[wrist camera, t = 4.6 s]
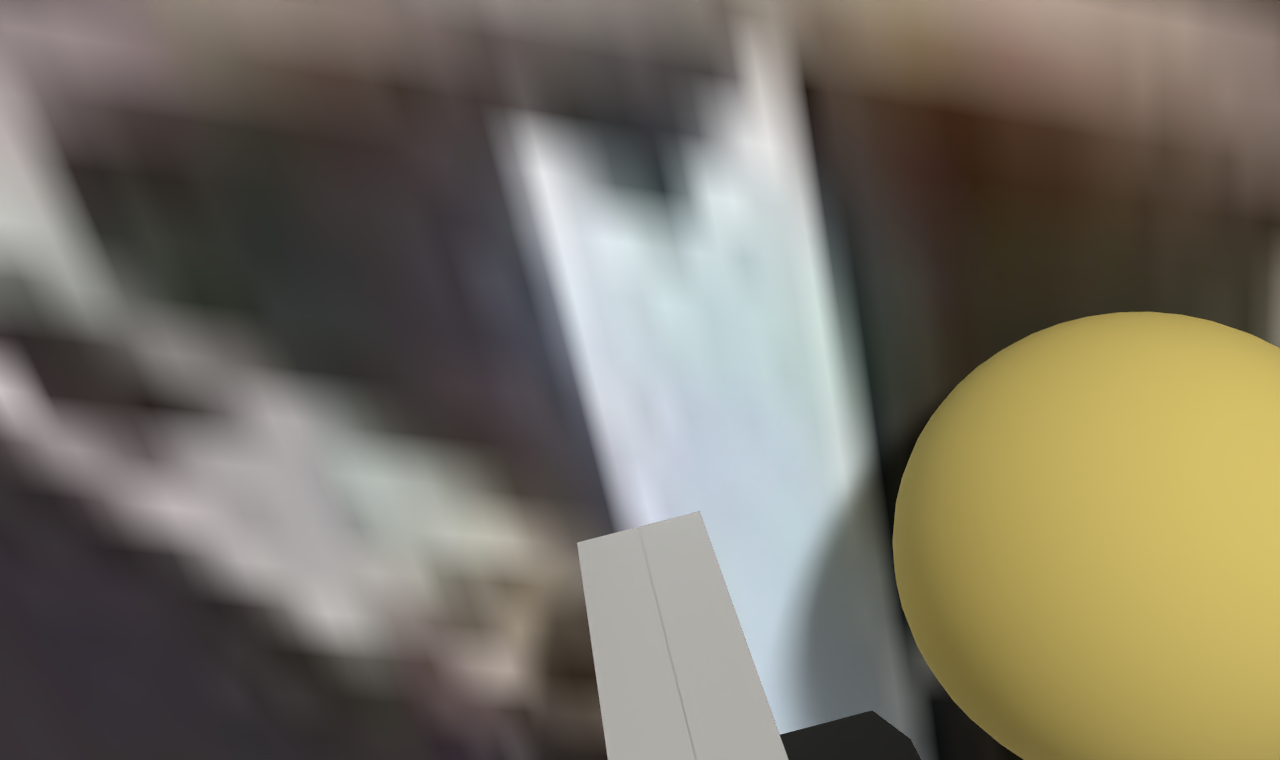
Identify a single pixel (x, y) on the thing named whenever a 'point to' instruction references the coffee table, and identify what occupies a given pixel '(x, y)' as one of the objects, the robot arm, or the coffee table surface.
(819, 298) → the coffee table surface
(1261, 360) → the yellow ball
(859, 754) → the robot arm
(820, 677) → the coffee table surface
